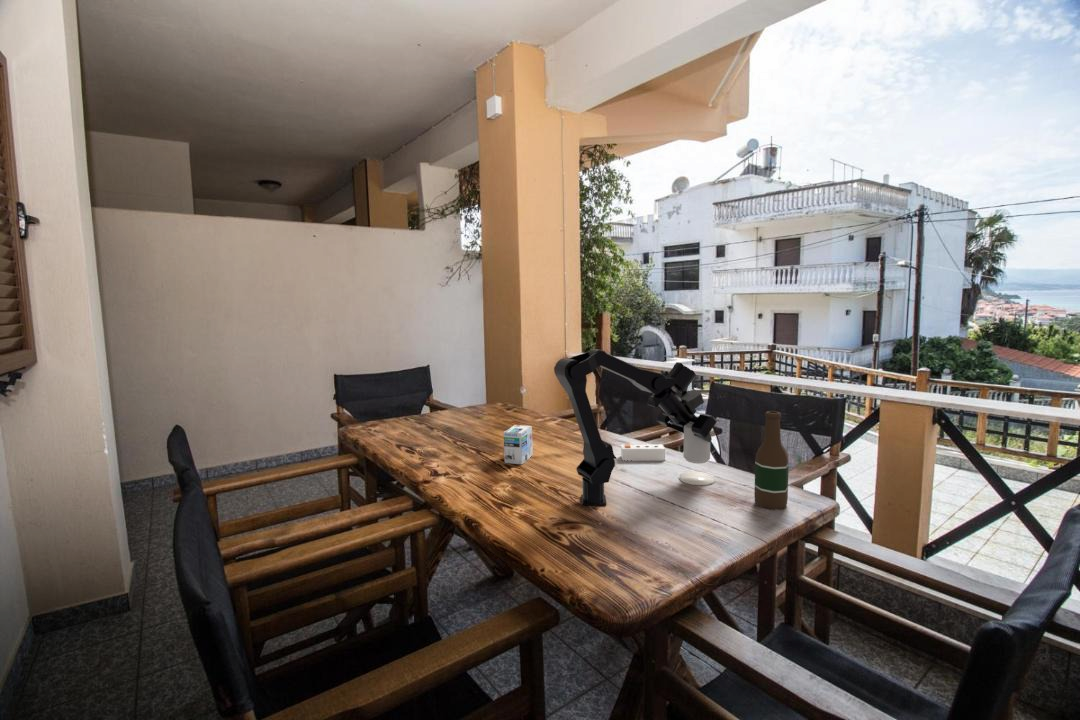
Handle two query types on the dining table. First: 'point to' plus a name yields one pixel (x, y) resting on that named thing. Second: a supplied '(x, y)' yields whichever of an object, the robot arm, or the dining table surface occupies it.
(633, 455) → the power strip
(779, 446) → the beer bottle
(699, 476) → the coaster
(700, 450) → the can
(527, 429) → the light bulb box
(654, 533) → the dining table surface
